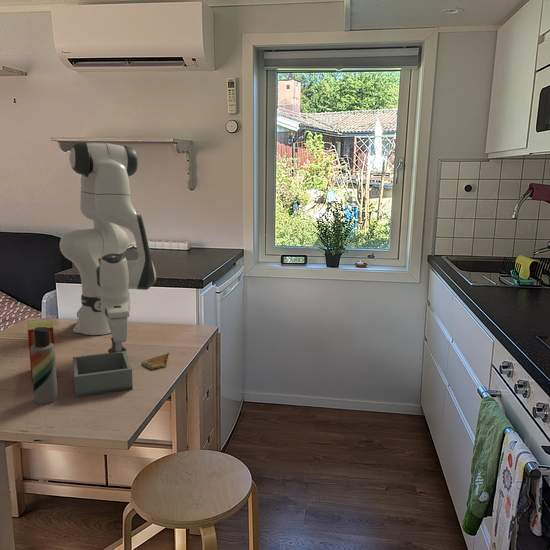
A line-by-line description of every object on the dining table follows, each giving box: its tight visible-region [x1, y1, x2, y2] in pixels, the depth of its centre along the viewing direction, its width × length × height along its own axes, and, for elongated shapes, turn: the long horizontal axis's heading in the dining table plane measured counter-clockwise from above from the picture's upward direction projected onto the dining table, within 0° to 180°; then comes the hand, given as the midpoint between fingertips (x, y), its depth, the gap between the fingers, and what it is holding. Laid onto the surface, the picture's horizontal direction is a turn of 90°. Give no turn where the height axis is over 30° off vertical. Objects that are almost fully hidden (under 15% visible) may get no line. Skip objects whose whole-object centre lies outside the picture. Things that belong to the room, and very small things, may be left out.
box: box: [72, 351, 134, 398], centre depth 141 cm, size 15×15×6 cm
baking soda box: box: [27, 318, 57, 383], centre depth 144 cm, size 10×6×16 cm
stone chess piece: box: [107, 336, 128, 353], centre depth 157 cm, size 6×6×12 cm
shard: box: [141, 352, 170, 370], centre depth 157 cm, size 11×8×2 cm
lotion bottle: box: [30, 327, 59, 405], centre depth 128 cm, size 6×6×20 cm
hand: (117, 346), depth 157 cm, fingers open, 5 cm apart
